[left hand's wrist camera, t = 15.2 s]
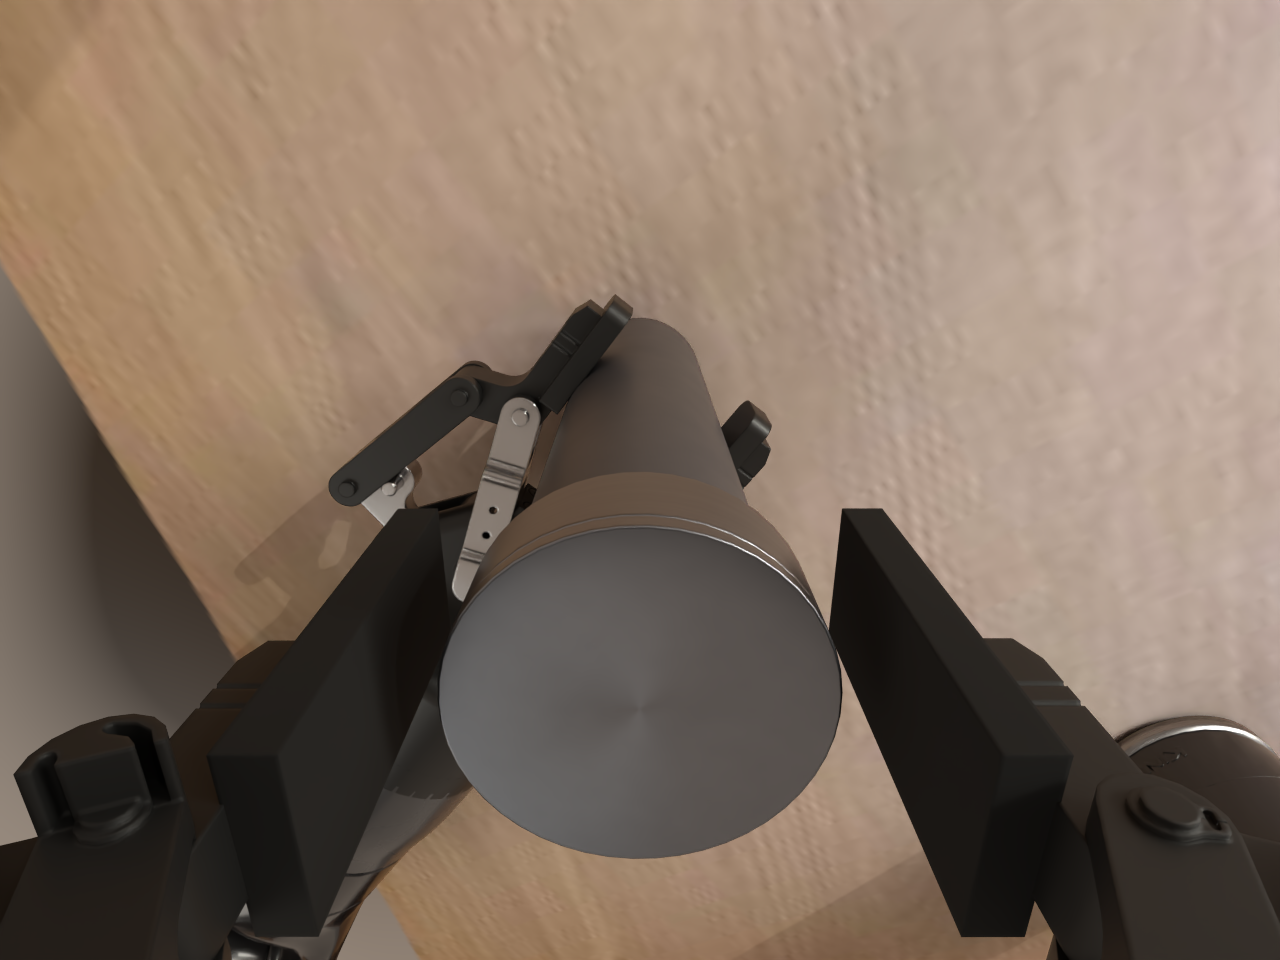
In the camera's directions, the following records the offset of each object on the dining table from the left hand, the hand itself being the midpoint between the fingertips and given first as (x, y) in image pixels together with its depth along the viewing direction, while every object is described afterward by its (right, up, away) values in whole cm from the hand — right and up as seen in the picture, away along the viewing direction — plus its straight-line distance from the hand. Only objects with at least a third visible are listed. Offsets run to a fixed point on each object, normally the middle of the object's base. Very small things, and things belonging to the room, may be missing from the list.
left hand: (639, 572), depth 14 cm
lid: (0, -1, -3) cm, 4 cm away
